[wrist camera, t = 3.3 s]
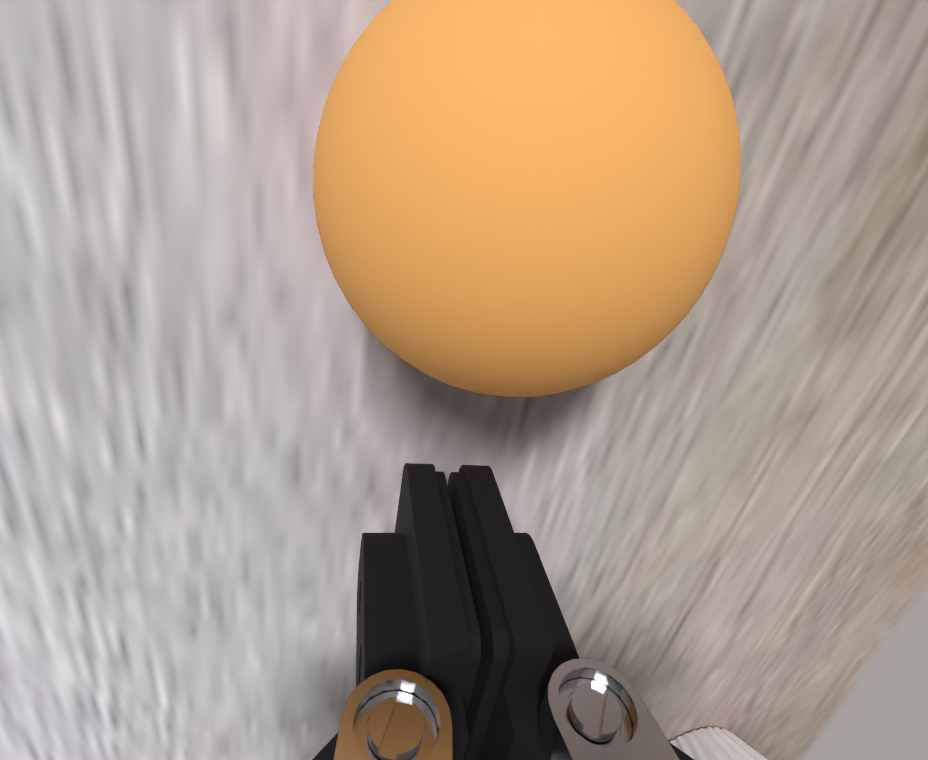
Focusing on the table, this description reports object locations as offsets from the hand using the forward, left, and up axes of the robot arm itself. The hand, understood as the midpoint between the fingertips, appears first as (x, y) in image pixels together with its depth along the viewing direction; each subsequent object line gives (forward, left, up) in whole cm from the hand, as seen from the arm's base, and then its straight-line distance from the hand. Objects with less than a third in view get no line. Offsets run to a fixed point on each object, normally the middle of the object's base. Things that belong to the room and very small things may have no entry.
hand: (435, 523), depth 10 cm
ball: (-5, -4, +1) cm, 7 cm away
